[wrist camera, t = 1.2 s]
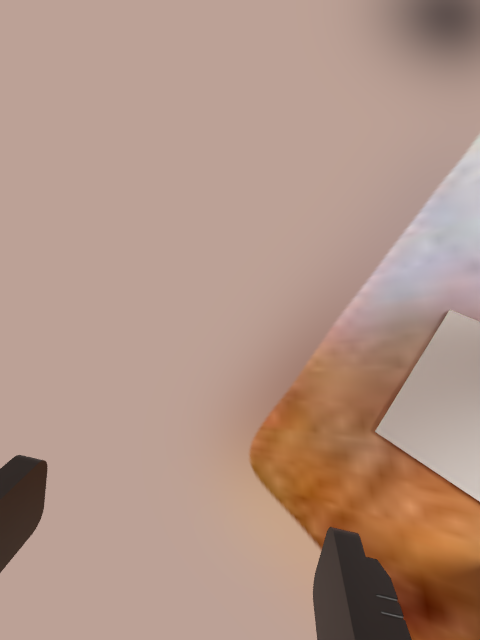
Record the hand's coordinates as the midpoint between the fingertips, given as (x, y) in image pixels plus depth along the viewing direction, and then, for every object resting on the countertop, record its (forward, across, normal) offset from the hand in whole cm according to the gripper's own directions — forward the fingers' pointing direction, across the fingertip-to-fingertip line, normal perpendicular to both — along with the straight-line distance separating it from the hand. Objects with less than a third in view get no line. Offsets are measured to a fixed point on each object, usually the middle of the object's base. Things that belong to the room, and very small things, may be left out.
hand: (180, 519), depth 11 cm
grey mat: (+20, -19, +2) cm, 28 cm away
